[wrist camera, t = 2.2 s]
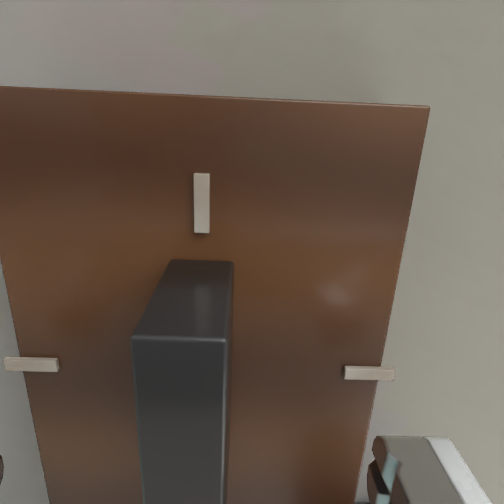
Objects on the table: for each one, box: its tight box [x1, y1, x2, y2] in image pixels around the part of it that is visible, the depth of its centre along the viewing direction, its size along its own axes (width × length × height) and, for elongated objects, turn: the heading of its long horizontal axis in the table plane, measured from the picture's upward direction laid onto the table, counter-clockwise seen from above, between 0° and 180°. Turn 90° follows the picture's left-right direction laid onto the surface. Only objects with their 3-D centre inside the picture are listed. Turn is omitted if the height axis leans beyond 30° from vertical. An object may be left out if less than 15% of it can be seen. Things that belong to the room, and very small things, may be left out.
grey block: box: [130, 259, 234, 504], centre depth 9 cm, size 6×2×4 cm, turn 178°
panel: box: [0, 86, 430, 504], centre depth 12 cm, size 14×11×3 cm
